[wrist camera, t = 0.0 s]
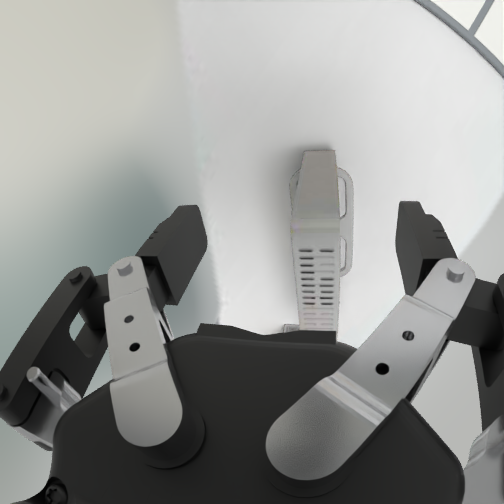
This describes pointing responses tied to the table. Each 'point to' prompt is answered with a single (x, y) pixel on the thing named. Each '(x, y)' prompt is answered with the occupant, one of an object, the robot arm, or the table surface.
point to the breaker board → (475, 24)
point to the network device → (319, 238)
